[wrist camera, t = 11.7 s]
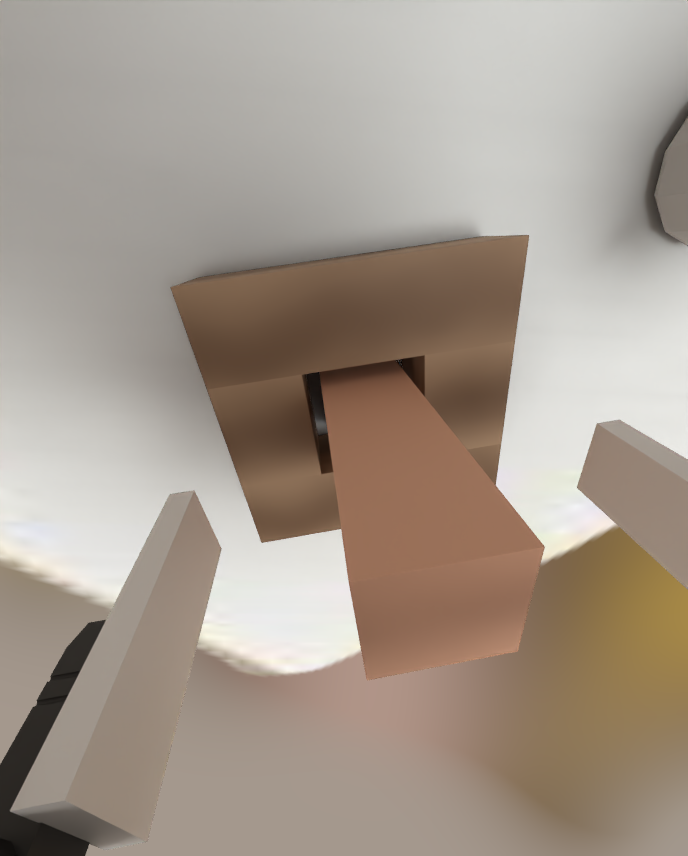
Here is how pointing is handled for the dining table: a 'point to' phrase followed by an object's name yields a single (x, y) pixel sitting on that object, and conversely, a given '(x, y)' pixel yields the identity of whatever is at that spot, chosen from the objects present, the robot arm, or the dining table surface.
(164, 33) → the dining table surface
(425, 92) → the dining table surface
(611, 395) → the dining table surface
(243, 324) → the socket block
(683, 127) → the water bottle
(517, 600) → the peg
